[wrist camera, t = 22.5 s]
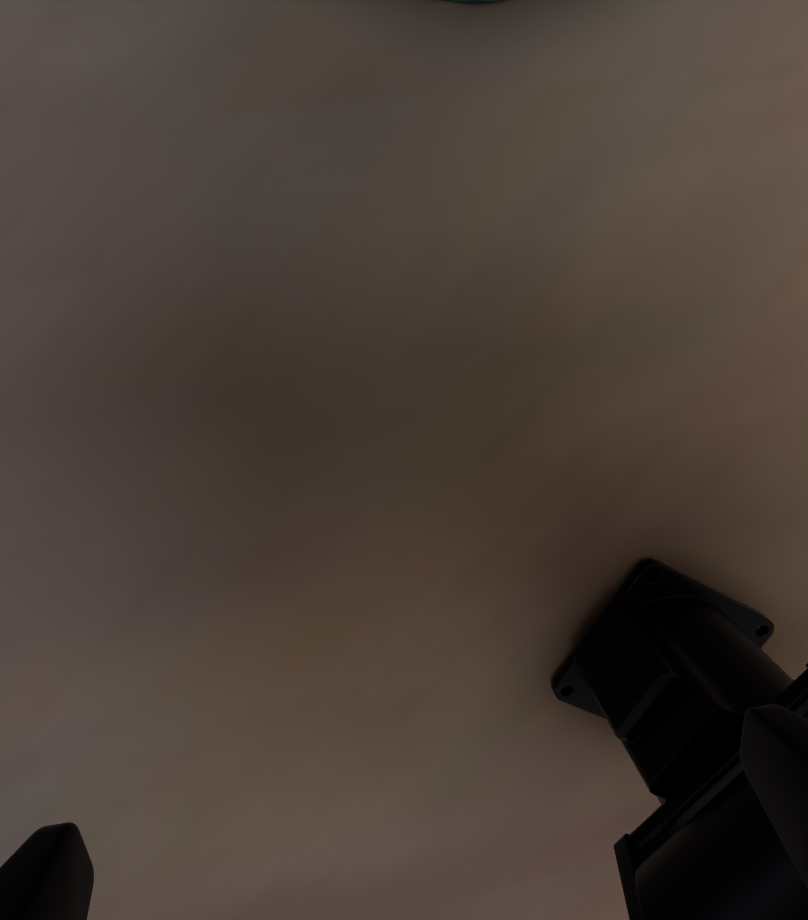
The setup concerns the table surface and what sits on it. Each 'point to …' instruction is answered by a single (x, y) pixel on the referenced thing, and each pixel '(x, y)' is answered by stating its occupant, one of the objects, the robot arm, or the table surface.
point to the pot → (475, 0)
